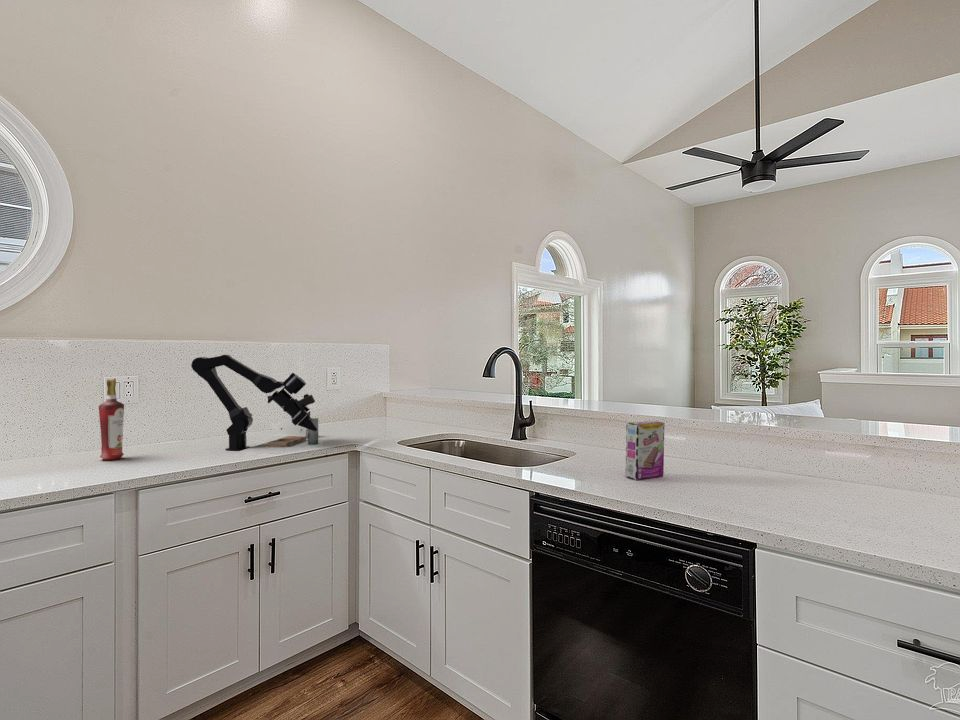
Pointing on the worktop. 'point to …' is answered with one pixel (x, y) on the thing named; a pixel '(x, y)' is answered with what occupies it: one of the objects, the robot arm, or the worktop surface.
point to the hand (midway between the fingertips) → (316, 429)
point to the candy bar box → (644, 450)
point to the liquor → (111, 424)
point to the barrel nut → (313, 433)
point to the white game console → (289, 430)
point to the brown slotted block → (286, 441)
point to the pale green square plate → (313, 445)
